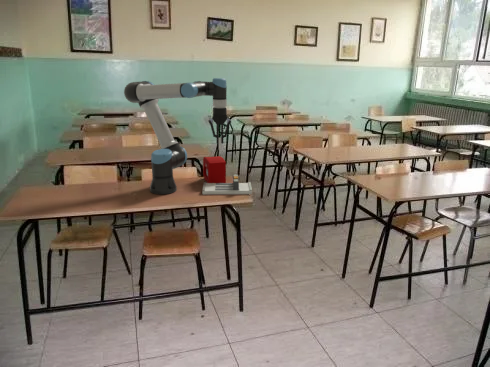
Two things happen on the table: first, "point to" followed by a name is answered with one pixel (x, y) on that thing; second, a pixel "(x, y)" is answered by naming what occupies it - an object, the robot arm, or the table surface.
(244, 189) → the white slider panel
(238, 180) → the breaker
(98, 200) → the table surface
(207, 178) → the red rectangular box
